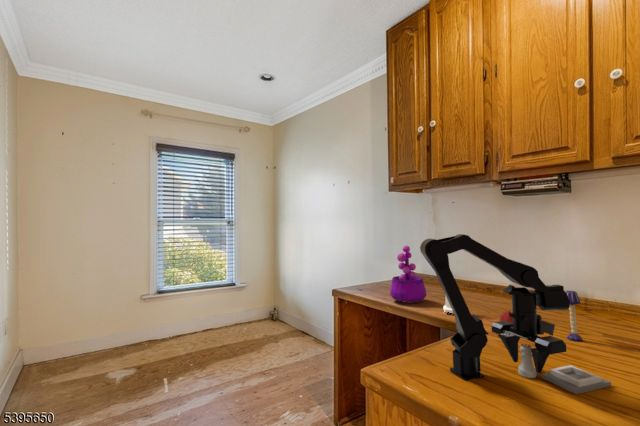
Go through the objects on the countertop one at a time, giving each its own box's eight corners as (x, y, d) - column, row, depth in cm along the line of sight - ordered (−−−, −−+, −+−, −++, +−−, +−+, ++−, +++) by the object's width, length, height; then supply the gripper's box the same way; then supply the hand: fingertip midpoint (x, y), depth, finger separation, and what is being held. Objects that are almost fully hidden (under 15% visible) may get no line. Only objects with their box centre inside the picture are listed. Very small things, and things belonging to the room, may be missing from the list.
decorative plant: (408, 308, 161) (406, 247, 162) (383, 300, 177) (381, 245, 178) (434, 302, 171) (432, 245, 172) (408, 296, 187) (406, 243, 188)
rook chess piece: (519, 369, 93) (518, 341, 93) (538, 374, 90) (536, 344, 90) (516, 375, 89) (515, 346, 90) (536, 380, 87) (534, 349, 87)
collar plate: (575, 394, 79) (575, 385, 79) (541, 377, 88) (541, 369, 88) (611, 385, 83) (610, 377, 83) (574, 370, 91) (574, 362, 91)
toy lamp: (562, 338, 116) (560, 290, 116) (570, 335, 118) (568, 289, 118) (577, 342, 112) (575, 293, 112) (585, 340, 113) (583, 291, 114)
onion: (503, 326, 130) (502, 306, 130) (519, 330, 125) (518, 309, 126) (498, 330, 125) (497, 309, 126) (515, 333, 121) (514, 312, 122)
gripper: (581, 316, 83) (584, 377, 83) (518, 300, 101) (520, 350, 101) (547, 320, 80) (550, 385, 80) (489, 303, 98) (491, 355, 98)
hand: (527, 367), depth 90 cm, fingers open, 7 cm apart
